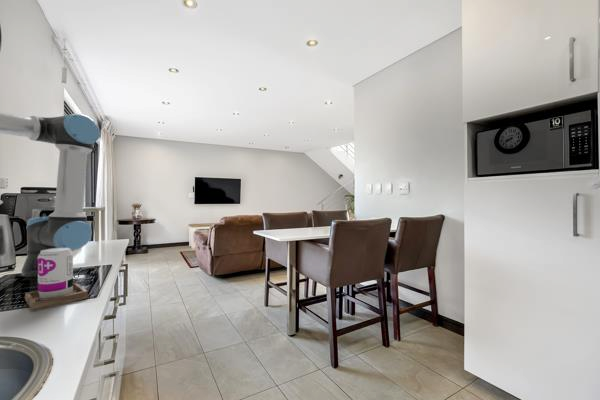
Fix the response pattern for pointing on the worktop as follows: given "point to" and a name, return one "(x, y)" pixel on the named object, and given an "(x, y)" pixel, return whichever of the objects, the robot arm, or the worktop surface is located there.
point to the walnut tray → (38, 304)
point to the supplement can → (55, 273)
